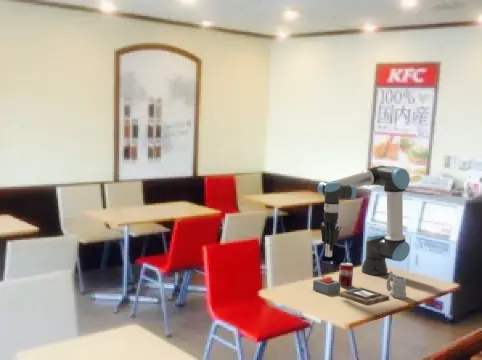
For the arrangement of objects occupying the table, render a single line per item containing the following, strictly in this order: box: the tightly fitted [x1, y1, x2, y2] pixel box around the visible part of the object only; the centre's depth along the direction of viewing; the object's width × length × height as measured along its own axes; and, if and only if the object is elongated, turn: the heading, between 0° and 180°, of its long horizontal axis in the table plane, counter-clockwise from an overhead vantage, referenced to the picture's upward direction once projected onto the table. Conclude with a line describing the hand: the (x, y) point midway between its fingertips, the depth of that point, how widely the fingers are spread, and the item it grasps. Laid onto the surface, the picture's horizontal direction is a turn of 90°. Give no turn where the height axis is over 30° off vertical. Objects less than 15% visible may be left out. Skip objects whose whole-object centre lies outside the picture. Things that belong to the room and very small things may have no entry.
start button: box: [321, 275, 333, 284], centre depth 308 cm, size 5×5×5 cm
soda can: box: [338, 262, 354, 288], centre depth 318 cm, size 7×7×12 cm
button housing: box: [312, 278, 341, 295], centre depth 308 cm, size 10×10×5 cm
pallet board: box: [337, 287, 390, 306], centre depth 299 cm, size 18×18×2 cm
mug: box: [386, 270, 407, 300], centre depth 304 cm, size 8×12×12 cm, turn 35°
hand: (328, 256), depth 306 cm, fingers closed
